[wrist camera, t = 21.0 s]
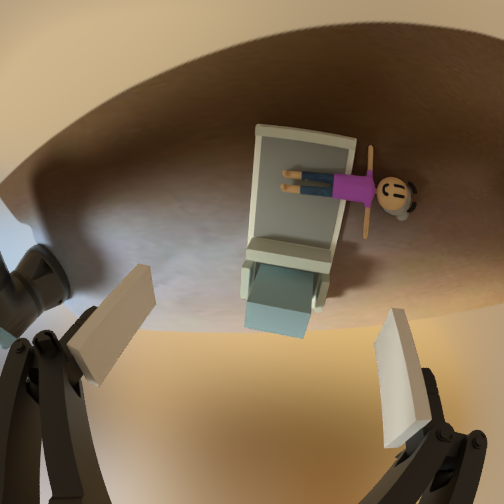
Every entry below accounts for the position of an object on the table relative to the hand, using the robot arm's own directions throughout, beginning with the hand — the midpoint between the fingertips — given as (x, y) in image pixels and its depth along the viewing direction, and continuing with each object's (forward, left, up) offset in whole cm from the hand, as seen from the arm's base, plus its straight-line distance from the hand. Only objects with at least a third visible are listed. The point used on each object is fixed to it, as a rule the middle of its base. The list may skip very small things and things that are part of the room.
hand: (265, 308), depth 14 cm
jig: (0, -4, -21) cm, 21 cm away
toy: (-2, +1, -20) cm, 20 cm away
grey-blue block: (0, -12, -20) cm, 23 cm away
